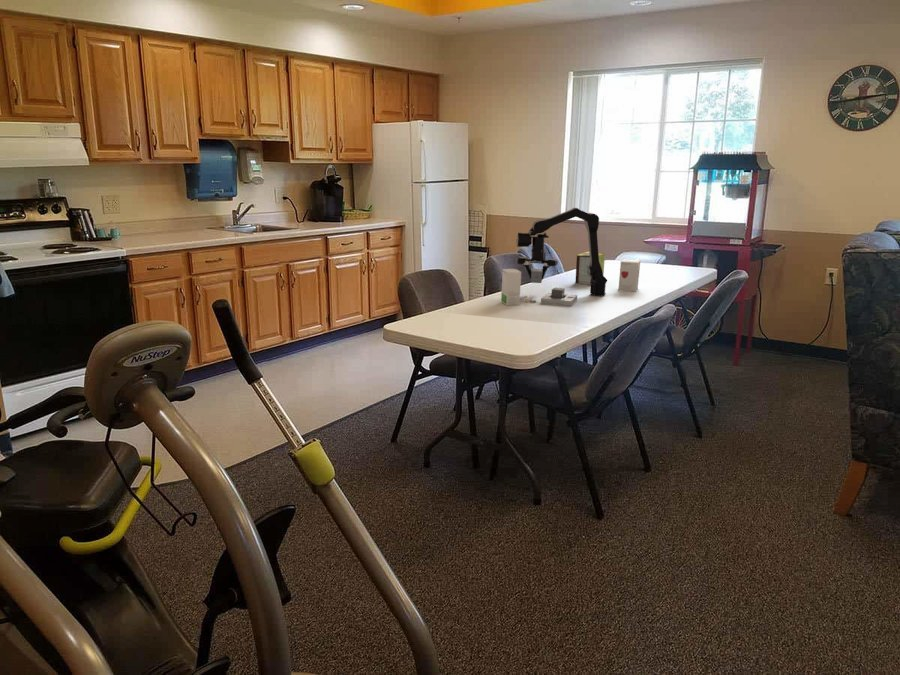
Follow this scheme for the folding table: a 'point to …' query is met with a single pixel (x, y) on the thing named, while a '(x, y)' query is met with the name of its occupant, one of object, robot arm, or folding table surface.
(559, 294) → the grey block
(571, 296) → the outlet plate
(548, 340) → the folding table surface
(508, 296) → the skincare box
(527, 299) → the cable plug
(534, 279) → the block
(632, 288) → the supplement box
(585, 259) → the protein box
